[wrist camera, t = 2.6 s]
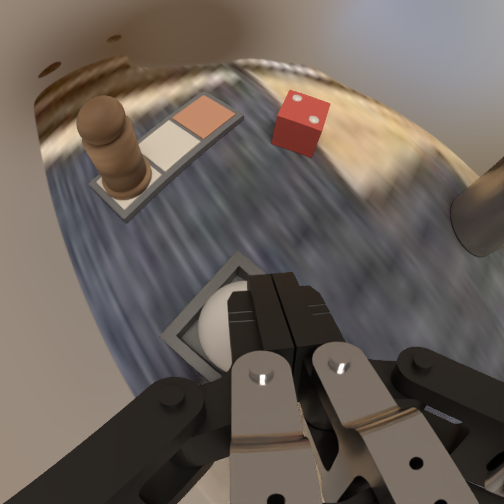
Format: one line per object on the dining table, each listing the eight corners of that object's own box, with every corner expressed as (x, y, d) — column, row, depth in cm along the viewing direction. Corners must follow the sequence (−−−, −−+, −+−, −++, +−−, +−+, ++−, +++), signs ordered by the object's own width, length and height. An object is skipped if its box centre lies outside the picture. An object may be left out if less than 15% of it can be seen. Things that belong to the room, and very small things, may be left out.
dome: (239, 276, 28) (243, 248, 20) (300, 327, 26) (326, 316, 19) (185, 336, 26) (170, 328, 18) (249, 389, 24) (257, 402, 17)
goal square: (203, 96, 36) (203, 94, 36) (235, 115, 36) (235, 113, 35) (172, 118, 35) (172, 117, 35) (203, 139, 34) (203, 138, 34)
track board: (204, 96, 38) (203, 89, 37) (243, 120, 37) (244, 113, 36) (91, 188, 32) (88, 183, 31) (126, 223, 31) (123, 218, 30)
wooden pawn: (131, 149, 33) (103, 73, 22) (162, 174, 32) (139, 95, 21) (95, 182, 31) (53, 112, 20) (124, 210, 30) (82, 139, 19)
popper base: (236, 262, 31) (237, 250, 27) (315, 327, 29) (326, 323, 26) (167, 338, 28) (159, 336, 24) (249, 408, 26) (252, 415, 23)
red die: (283, 117, 37) (289, 88, 32) (320, 130, 37) (330, 102, 32) (271, 143, 36) (277, 114, 31) (311, 157, 35) (322, 130, 31)
